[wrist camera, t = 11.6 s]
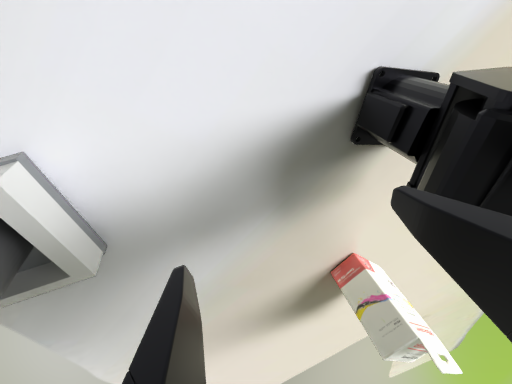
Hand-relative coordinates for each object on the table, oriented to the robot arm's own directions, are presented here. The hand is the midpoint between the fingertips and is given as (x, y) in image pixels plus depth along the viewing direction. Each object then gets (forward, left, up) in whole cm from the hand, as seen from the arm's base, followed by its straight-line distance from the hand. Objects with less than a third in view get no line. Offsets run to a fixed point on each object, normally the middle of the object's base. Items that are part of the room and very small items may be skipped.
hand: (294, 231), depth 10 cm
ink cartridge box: (-20, +22, -12) cm, 32 cm away
